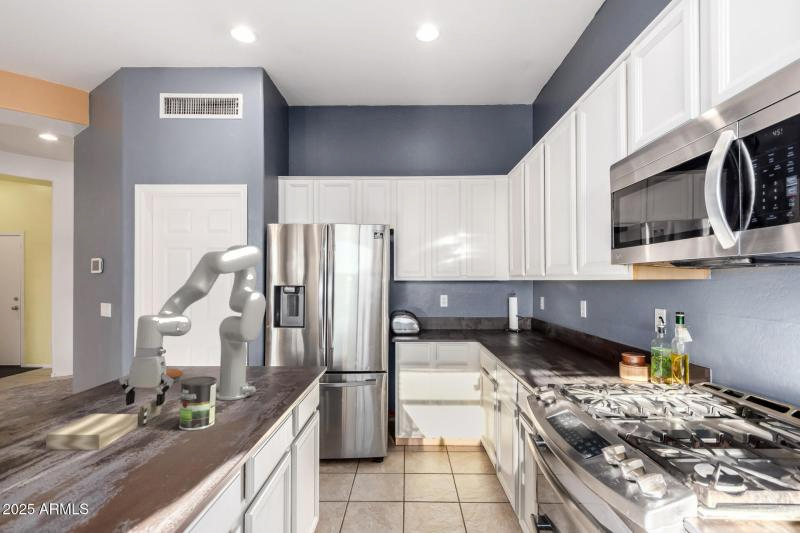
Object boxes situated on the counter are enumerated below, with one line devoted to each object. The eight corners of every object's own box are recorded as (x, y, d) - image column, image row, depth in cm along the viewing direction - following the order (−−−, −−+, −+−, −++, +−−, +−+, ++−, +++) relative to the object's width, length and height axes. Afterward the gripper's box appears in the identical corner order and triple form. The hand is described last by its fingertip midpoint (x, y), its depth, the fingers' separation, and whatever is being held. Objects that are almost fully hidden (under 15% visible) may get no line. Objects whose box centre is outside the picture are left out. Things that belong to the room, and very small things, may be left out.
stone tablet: (145, 408, 122) (167, 397, 134) (132, 407, 122) (156, 396, 134) (143, 427, 121) (165, 414, 133) (131, 426, 121) (154, 413, 133)
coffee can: (195, 433, 118) (197, 386, 118) (171, 427, 121) (173, 382, 122) (222, 421, 127) (224, 378, 128) (199, 416, 131) (200, 374, 131)
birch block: (137, 427, 121) (137, 414, 121) (98, 449, 105) (99, 434, 105) (91, 426, 120) (92, 413, 121) (45, 449, 104) (46, 434, 105)
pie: (178, 376, 183) (178, 365, 183) (187, 383, 172) (187, 371, 172) (139, 381, 173) (139, 369, 173) (145, 389, 161) (146, 376, 161)
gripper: (181, 351, 133) (177, 402, 132) (130, 349, 133) (126, 400, 132) (168, 355, 126) (164, 409, 125) (114, 353, 125) (110, 407, 124)
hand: (145, 404), depth 128 cm, fingers open, 9 cm apart
